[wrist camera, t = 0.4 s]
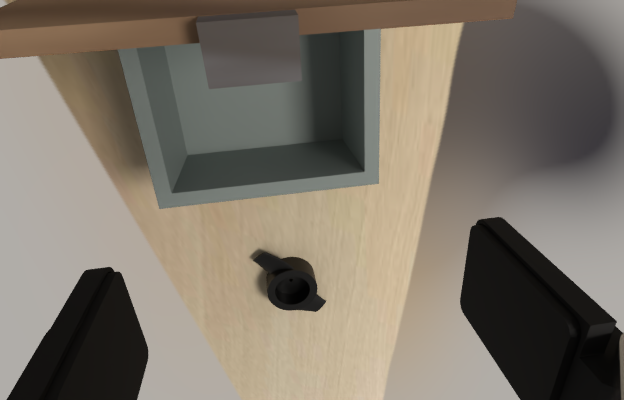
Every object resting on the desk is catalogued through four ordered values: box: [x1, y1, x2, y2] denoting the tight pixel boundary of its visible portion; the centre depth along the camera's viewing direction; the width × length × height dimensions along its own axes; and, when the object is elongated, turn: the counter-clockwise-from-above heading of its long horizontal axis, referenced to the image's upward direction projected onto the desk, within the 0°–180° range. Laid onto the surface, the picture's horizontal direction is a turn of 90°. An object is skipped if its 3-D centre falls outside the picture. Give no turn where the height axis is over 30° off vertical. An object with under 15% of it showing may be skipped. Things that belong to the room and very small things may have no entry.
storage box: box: [118, 29, 381, 209], centre depth 34 cm, size 16×18×10 cm
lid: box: [0, 0, 517, 89], centre depth 19 cm, size 17×18×2 cm
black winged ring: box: [253, 253, 326, 312], centre depth 48 cm, size 8×10×3 cm
